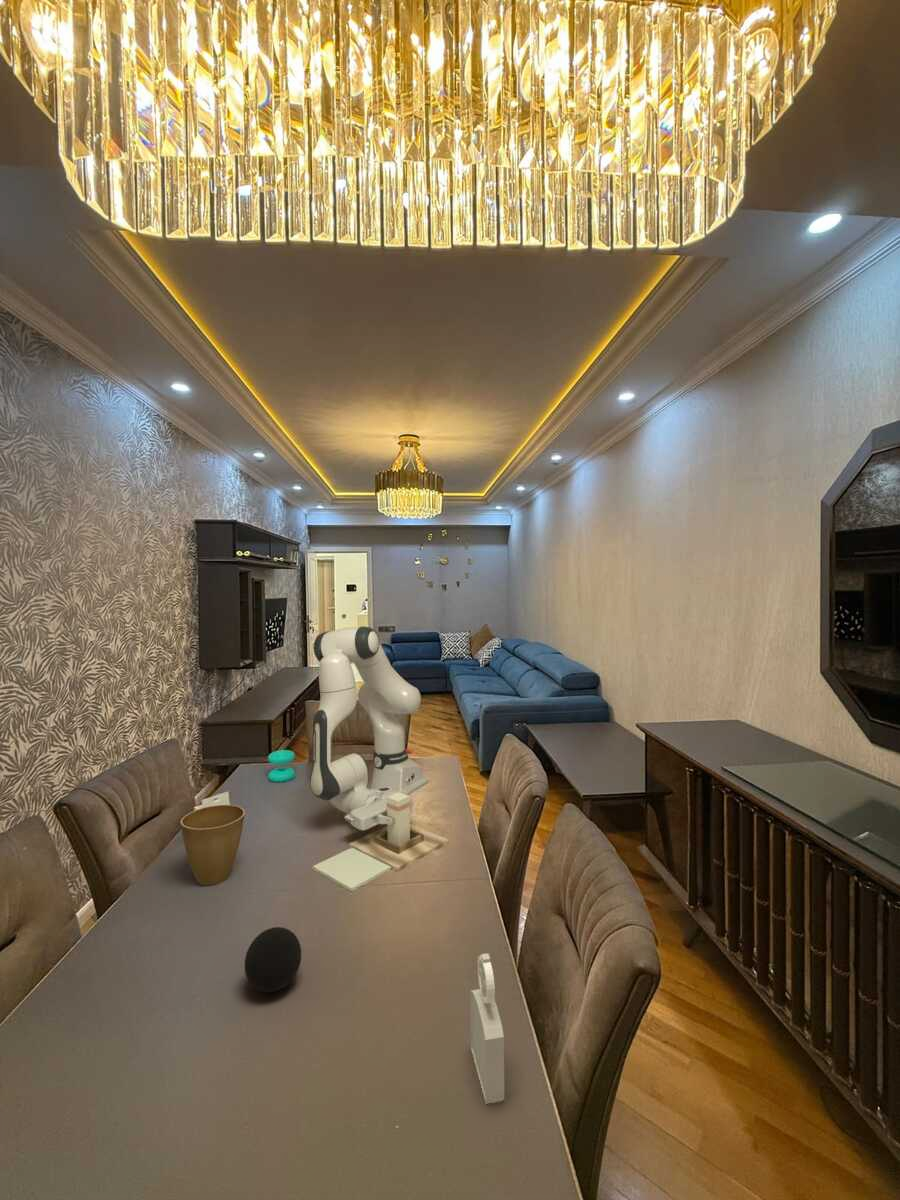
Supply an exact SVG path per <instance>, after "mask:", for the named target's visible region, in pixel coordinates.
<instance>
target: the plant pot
mask: <svg viewBox="0 0 900 1200" xmlns="http://www.w3.org/2000/svg"><path fill="white" fill-rule="evenodd" d="M245 812H246V811H245V809H244V808H243V807H241V806H238V805H232V804H230V805H215V806H209V807H205V808H201V809H198V810H195V811H194V810H193V811H191V812H189V813H187V814H185V816H183V817H182V818H181V820H180V826H181V827H180V828H181V833H182V839H183V843H184V848H185V851H186V855H187V859H188V862H189V865H190V867H191V871H192V873H193V875H194V876H195V879H196V881H197V883H198V884H200V885H202V886H214V885H218V884H220V883H222V882H224V881H226V880H227V879H228V878H229V876H230V874H231V871H232V869H233V865H234V862H235V860H236V857H237V854H238V853H237V852H238V850H239V845H240V841H241V837H242V836H241V835H242V832H243V825H244V820H245Z"/></svg>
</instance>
